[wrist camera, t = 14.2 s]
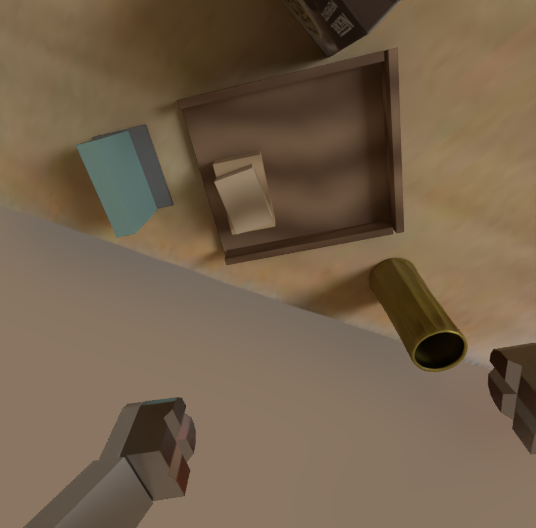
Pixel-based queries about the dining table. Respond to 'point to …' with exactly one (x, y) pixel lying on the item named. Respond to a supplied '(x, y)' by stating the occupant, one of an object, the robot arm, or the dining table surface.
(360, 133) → the brown wooden tray
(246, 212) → the offcut top
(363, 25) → the coffee box
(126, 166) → the teal rectangular block
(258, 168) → the offcut low
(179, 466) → the robot arm
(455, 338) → the vase
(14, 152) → the dining table surface
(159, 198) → the mat
